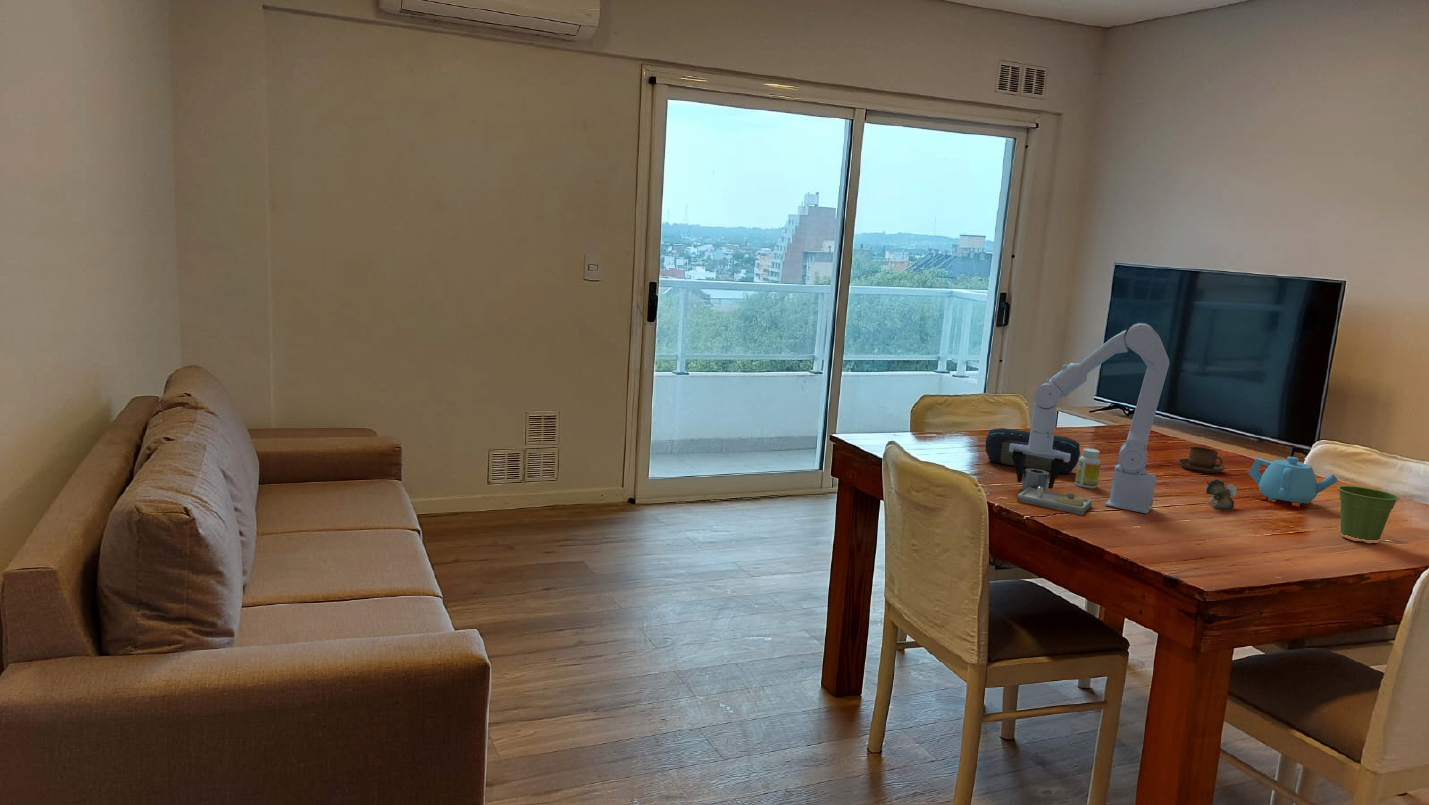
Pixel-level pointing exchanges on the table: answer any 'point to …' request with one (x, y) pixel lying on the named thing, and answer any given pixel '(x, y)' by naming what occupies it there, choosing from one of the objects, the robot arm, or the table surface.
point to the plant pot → (1364, 511)
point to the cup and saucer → (1202, 460)
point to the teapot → (1289, 480)
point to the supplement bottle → (1088, 469)
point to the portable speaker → (999, 453)
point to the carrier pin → (1039, 492)
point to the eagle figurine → (1221, 495)
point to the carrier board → (1055, 501)
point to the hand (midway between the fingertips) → (1035, 484)
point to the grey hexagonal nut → (1035, 479)
